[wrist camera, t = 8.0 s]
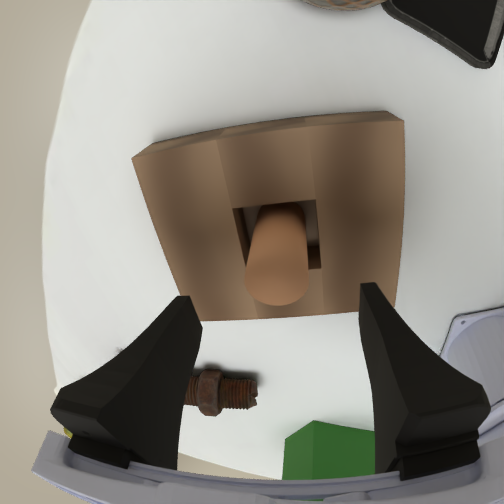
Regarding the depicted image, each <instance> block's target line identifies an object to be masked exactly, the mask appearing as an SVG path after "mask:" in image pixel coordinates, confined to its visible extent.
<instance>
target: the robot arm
mask: <svg viewBox="0 0 504 504" xmlns="http://www.w3.org/2000/svg"><path fill="white" fill-rule="evenodd" d="M359 327H360V336H361V342H362V347H363V351H364V356H365V360H366V365H367V369H368V374H369V379H370V384H371V390H372V399H373V412H374V430H375V474H374V475H366V476H357V477H347V478H335V479H317V480H261V479H260V480H259V479H243V478H229V477H219V476H211V475H203V474H196V473H189V472H182V471H177V459H178V444H179V433H180V425H181V418H182V411H183V406H184V400H185V395H186V391H187V387H188V384H189V381H190V378H191V374H192V371H193V368H194V365H195V361H196V358H197V355H198V351H199V348H200V342H201V336H202V329H203V328H202V325H201V323H200V320H199V318H198V315H197V313H196V310H195V308H194V305H193V303H192V300H191V297H190V295H187V296H177V297H176V298H175V299H174V300H173V301H172V302H171V303H170V304H169V305H168V306H167V307H166V308H165V309H164V310H163V311H162V313H161V314H160V315H159V316H158V317H157V318H156V319H155V320H154V321H153V322H152V323H151V324H150V325H149V327H148V328H147V329H146V330H144V331H143V332H142V333H141V334H140V335H139V336H138V337H137V338H136V339H135V340H134V341H133V342H132V343H131V344H130V345H129V346H128V347H127V348H125V349H124V350H123V351H122V352H121V353H119V354H118V355H117V356H116V357H114V358H113V359H111V360H110V361H109V362H107V363H106V364H104V365H103V366H102V367H100V368H99V369H97V370H95V371H94V372H92V373H91V374H89V375H87V376H85V377H83V378H82V379H80V380H78V381H76V382H74V383H71V384H69V385H67V386H65V387H63V388H61V389H60V391H59V393H58V395H57V397H56V399H55V401H54V403H53V405H52V407H51V409H50V411H51V414H52V415H53V417H54V418H55V419H56V420H57V421H58V422H59V423H60V424H62V425H63V426H64V427H65V428H66V429H67V430H69V431H70V432H71V433H72V434H73V435H72V437H71V439H70V438H68V437H66V436H64V435H61V434H59V433H56V432H53V431H51V430H50V431H48V433H47V435H46V438H45V440H44V442H43V444H42V447H41V449H40V451H39V454H38V456H37V458H36V460H35V463H34V465H33V468H32V473H34V474H36V475H37V476H39V477H40V478H42V479H44V480H46V481H47V482H49V483H50V484H52V485H54V486H56V487H57V488H59V489H61V490H63V491H65V492H67V493H69V494H71V495H74V496H76V497H78V498H80V499H83V500H85V501H87V502H90V503H92V504H504V308H500V309H495V310H490V311H485V312H480V313H475V314H469V315H464V316H458V317H456V318H455V319H454V320H453V322H452V325H451V328H450V331H449V334H448V337H447V340H446V342H445V345H444V348H443V350H442V353H441V356H440V357H439V356H438V355H437V354H436V353H435V352H434V351H432V350H431V349H430V348H429V347H428V346H427V345H426V344H425V343H424V342H423V341H422V340H421V339H420V338H419V337H418V336H417V335H416V334H415V333H414V332H413V331H412V330H411V328H410V327H409V326H408V325H407V324H406V323H405V322H404V320H403V319H402V318H401V317H400V315H399V314H398V313H397V312H396V310H395V309H394V308H393V306H392V305H391V304H390V302H389V301H388V300H387V298H386V297H385V295H384V294H383V292H382V291H381V289H380V288H379V286H378V285H377V283H375V282H369V283H360V301H359ZM313 499H324V500H323V501H299V500H313Z"/></svg>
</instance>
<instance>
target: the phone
mask: <svg viewBox="0 0 504 504" xmlns="http://www.w3.org/2000/svg"><path fill="white" fill-rule="evenodd" d="M381 5H382V7H383V9H384V10H385V11H386V12H387V14H388V15H390V16H391V17H393V18H394V19H396V20H398V21H400V22H402V23H404V22H405V23H404V24H406V25H408V26H409V27H411V28H413V29H415V30H417V31H418V32H420V33H422V34H423V35H425V36H427V37H428V38H430V39H432V40H433V41H435V42H437V43H438V44H440V45H441V46H443V47H445V48H446V49H448V50H449V51H451V52H452V53H454V54H455V55H457V56H458V57H459V58H461V59H462V60H464V61H465V62H467V63H468V64H469V65H471V66H473V67H475V68H481V69H488V68H490V67H492V66H493V64H494V63H495V60H496V57H497V54H498V51H499V48H500V45H501V42H502V39H503V35H504V0H387V1H385V2H382V3H381Z"/></svg>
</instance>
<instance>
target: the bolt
mask: <svg viewBox="0 0 504 504" xmlns="http://www.w3.org/2000/svg"><path fill="white" fill-rule="evenodd" d="M257 396H258V390H257V383H256V382H254V380H252V381H251V380H250V379H249V380H247V379H246V380H244V379H242V380H241V379H239V380H237V378H236V379H235V380H234V378H233V379H232V380H231V379H230V378H229V379H227V378H226V379H224V378H223V374H222V372H221V371H219V370H215V369H206V370H204V371H203V372H202V373H201V374H200V376H199V377H198V376H196V377H195V376H191V378H190V381H189V384H188V387H187V391H186V395H185V400H184V405H190V406H191V405H193V406H198V408H199V410H200V412H201V413H203V414H204V415H205V416H217V415H218V414H220V413H221V411H222V408H226V409H227V408H229V409H231V408H232V409H234V408H236V409H238V408H239V409H242V408H243V409H245V408H246V409H247V410H248V409H249V408H251V407H253V406H256V405H257V402H256V399H255V397H257Z"/></svg>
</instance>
